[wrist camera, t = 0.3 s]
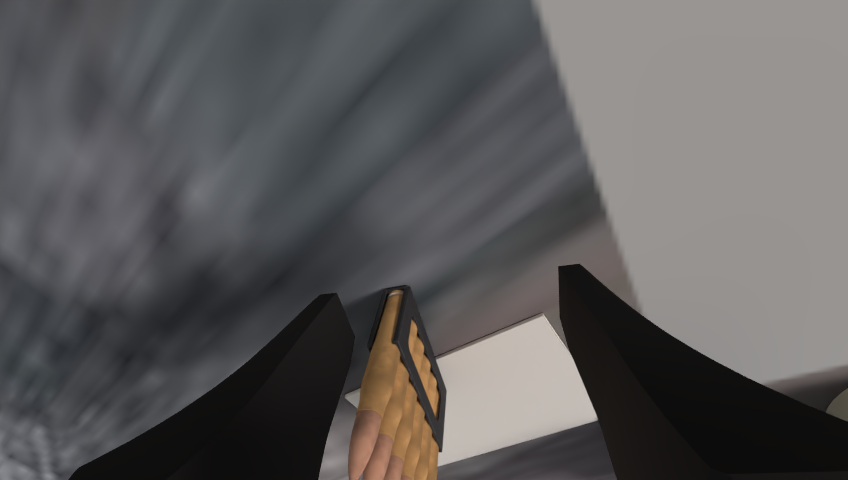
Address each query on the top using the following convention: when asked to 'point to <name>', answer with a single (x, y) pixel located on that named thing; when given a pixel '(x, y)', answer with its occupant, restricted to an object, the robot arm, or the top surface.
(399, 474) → the ammunition clip
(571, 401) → the mat
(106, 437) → the top surface
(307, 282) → the top surface
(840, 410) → the reusable coffee cup
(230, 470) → the robot arm
